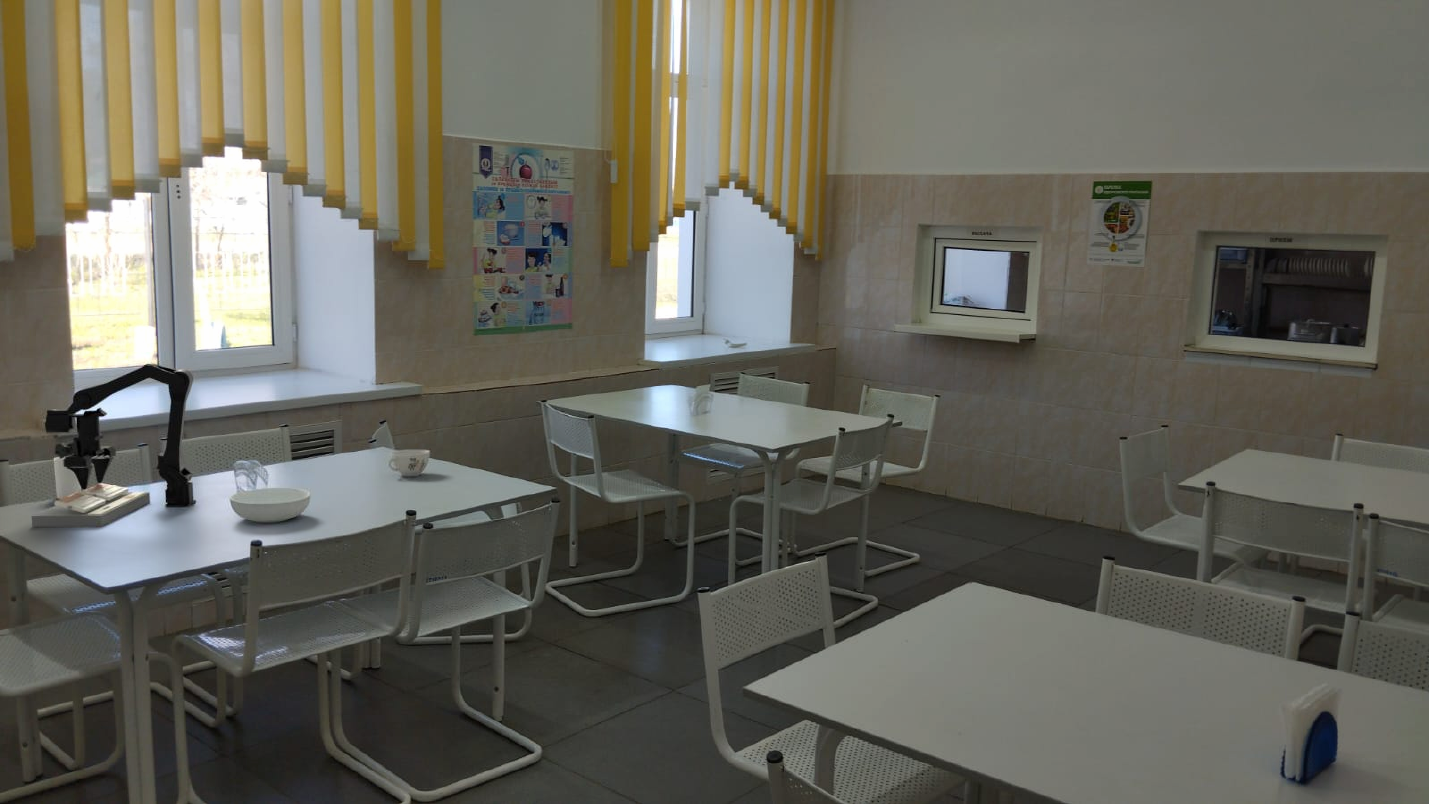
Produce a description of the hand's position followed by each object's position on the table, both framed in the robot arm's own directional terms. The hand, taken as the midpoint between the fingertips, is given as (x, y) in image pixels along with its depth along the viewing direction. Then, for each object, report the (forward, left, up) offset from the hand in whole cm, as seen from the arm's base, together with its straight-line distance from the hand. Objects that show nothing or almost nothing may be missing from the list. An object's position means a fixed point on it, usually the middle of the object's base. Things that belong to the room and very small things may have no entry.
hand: (92, 486), depth 322 cm
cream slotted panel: (-3, 0, -2) cm, 4 cm away
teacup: (-79, -48, -7) cm, 93 cm away
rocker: (-3, +14, -2) cm, 15 cm away
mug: (+14, -17, -7) cm, 23 cm away
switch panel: (-3, +7, -7) cm, 10 cm away
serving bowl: (-54, +14, -7) cm, 57 cm away
